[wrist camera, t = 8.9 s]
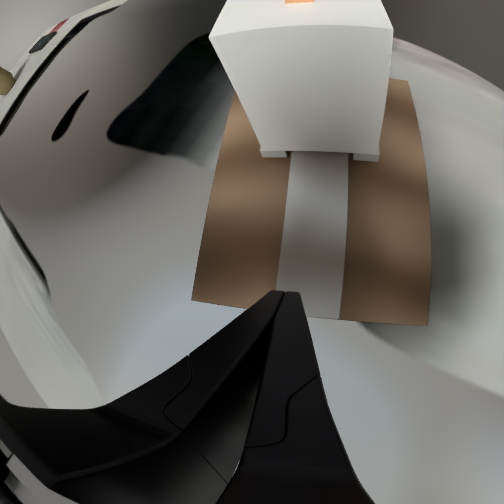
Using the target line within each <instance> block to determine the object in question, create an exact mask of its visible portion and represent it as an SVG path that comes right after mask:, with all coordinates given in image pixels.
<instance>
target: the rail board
mask: <svg viewBox="0 0 504 504" xmlns="http://www.w3.org/2000/svg"><path fill="white" fill-rule="evenodd" d="M379 151H380V156H379V161H378V162H373V161H361V160H353V153H344V152H323V151H288V154H287V157H262V155H261V153H260V143H259V141H258V139H257V137H256V134H255V132H254V130H253V128H252V125H251V123H250V121H249V119H248V117H247V115H246V112H245V110H244V108H243V106H242V104H241V102H240V100H239V97H238V95H237V93H236V91H235V92H234V96H233V100H232V104H231V107H230V111H229V115H228V119H227V124H226V128H225V132H224V136H223V140H222V144H221V149H220V153H219V158H218V162H217V166H216V171H215V176H214V180H213V185H212V190H211V194H210V199H209V204H208V209H207V214H206V219H205V224H204V230H203V235H202V240H201V246H200V251H199V257H198V263H197V268H196V274H195V280H194V286H193V293H192V300H194V301H200V302H205V303H212V304H217V305H224V306H232V307H237V308H244V309H248V308H249V307H251V306H252V305H253V304H254V303H256V302H257V301H258V300H259V299H261V298H262V297H263V296H264V295H266V294H267V293H268V292H269V291H271V290H281V291H285V292H287V291H295V292H299V293H300V295H301V299H302V302H303V306H304V310H305V314H306V316H309V317H318V318H328V319H337V320H348V321H360V322H373V323H388V324H405V325H428V317H429V305H430V289H431V223H430V206H429V194H428V184H427V176H426V168H425V161H424V154H423V148H422V142H421V136H420V131H419V126H418V121H417V117H416V112H415V108H414V104H413V100H412V96H411V92H410V88H409V84H408V81H405V80H398V79H389V82H388V90H387V97H386V104H385V110H384V117H383V123H382V129H381V134H380V140H379Z"/></svg>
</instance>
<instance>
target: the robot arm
mask: <svg viewBox="0 0 504 504" xmlns="http://www.w3.org/2000/svg"><path fill="white" fill-rule="evenodd" d="M239 460H240V461H239ZM238 462H239V464H238ZM237 464H238V467H237ZM236 467H237V469H236ZM235 469H236V471H235ZM234 471H235V473H234ZM233 473H234V475H233ZM0 504H375V503H374V501H373V500H372V499H371V497H370V496H369V495H368V494H367V492H366V491H365V489H364V488H363V486H362V485H361V483H360V481H359V480H358V478H357V476H356V474H355V472H354V469H353V467H352V465H351V463H350V460H349V458H348V455H347V453H346V450H345V448H344V445H343V443H342V440H341V438H340V435H339V433H338V431H337V428H336V425H335V423H334V421H333V418H332V414H331V412H330V409H329V406H328V403H327V399H326V395H325V392H324V388H323V384H322V379H321V377H320V371H319V367H318V363H317V359H316V355H315V351H314V346H313V342H312V338H311V334H310V330H309V326H308V322H307V318H306V314H305V310H304V306H303V302H302V299H301V295H300V293H299V292H295V291H287V292H285V291H281V290H271V291H269V292H268V293H267V294H266V295H264V296H263V297H262V298H261V299H259V300H258V301H257V302H256V303H254V304H253V305H252V306H251V307H249V308H248V309H247V310H246V311H244V312H243V313H242V314H241V315H239V316H238V317H237V318H235V319H234V320H233V321H232V322H230V323H229V324H228V325H226V326H225V327H224V328H223V329H221V330H220V331H219V332H217V333H216V334H215V335H213V336H212V337H211V338H210V339H208V340H207V341H206V342H205V343H203V344H202V345H200V346H199V347H198V348H196V349H195V350H194V351H192V352H191V353H190V354H189V356H186V357H184V358H183V359H181V360H180V361H179V362H177V363H176V364H175V365H173V366H172V367H170V368H169V369H167V370H166V371H165V372H163V373H162V374H160V375H158V376H157V377H155V378H153V379H152V380H150V381H148V382H147V383H145V384H143V385H141V386H140V387H138V388H136V389H135V390H132V391H131V392H129V393H127V394H125V395H124V396H122V397H120V398H118V399H116V400H114V401H113V402H110V403H108V404H106V405H103V406H101V407H97V408H92V409H46V408H45V409H44V408H30V407H21V406H17V405H13V404H11V403H9V402H8V401H7V400H6V399H5V398H4V397H3V396H2V395H1V394H0Z"/></svg>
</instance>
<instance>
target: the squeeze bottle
mask: <svg viewBox="0 0 504 504" xmlns="http://www.w3.org/2000/svg"><path fill="white" fill-rule="evenodd" d="M14 83H15V80H14V78H13V76H12V74H11V73H10V72H8V71H7V70H5V69H3V68H2V67H0V95H6V94H7V93H8V92H9V91H10V89H11V88H12V86H13V85H14Z"/></svg>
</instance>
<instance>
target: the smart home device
mask: <svg viewBox="0 0 504 504" xmlns="http://www.w3.org/2000/svg"><path fill="white" fill-rule="evenodd" d="M56 34H57V33H56V32H52V33H50V34H48V35H46V36H44V37H42V38H41V39H40V40H39V41H38V42H37V43H36V44H35V45H34V46H33V48H32V49H31V50H30V51H29V53H30V54H31V53H33V52H36V51H39V50H41V49H43V47H44V46H45V45H46V44H47V43H48V42H49V41H50V40H51V39H52V38H53V37H54V36H55V35H56Z"/></svg>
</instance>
